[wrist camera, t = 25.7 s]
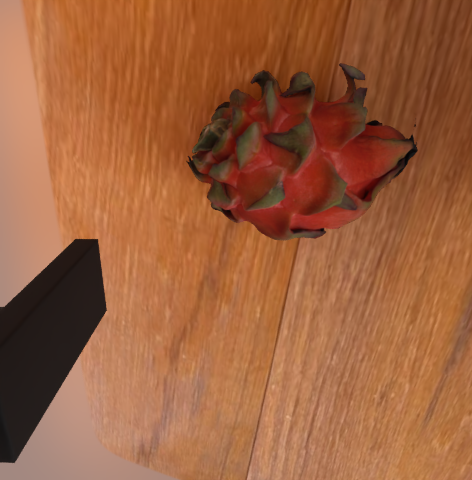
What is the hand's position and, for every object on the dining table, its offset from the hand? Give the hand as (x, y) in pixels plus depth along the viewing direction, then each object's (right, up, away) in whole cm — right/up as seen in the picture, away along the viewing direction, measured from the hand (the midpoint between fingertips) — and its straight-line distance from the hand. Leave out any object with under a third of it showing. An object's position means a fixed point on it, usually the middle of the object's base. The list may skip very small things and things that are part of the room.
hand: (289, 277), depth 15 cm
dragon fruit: (+2, +7, +12) cm, 14 cm away
